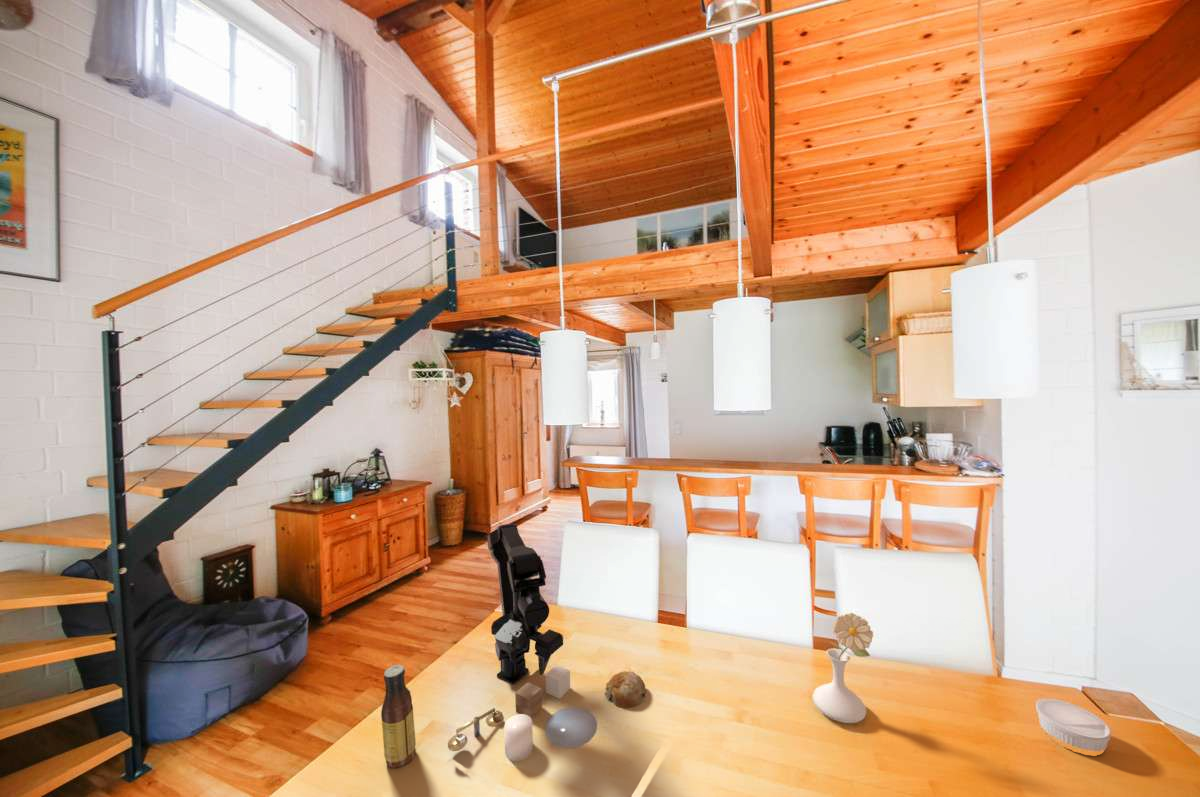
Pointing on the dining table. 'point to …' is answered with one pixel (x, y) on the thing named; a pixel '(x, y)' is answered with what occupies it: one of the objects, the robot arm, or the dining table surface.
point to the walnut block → (528, 699)
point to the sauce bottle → (397, 719)
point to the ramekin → (1073, 724)
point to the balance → (461, 740)
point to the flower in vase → (836, 695)
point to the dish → (571, 727)
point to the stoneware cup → (518, 737)
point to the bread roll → (625, 689)
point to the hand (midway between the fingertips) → (527, 667)
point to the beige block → (557, 681)
